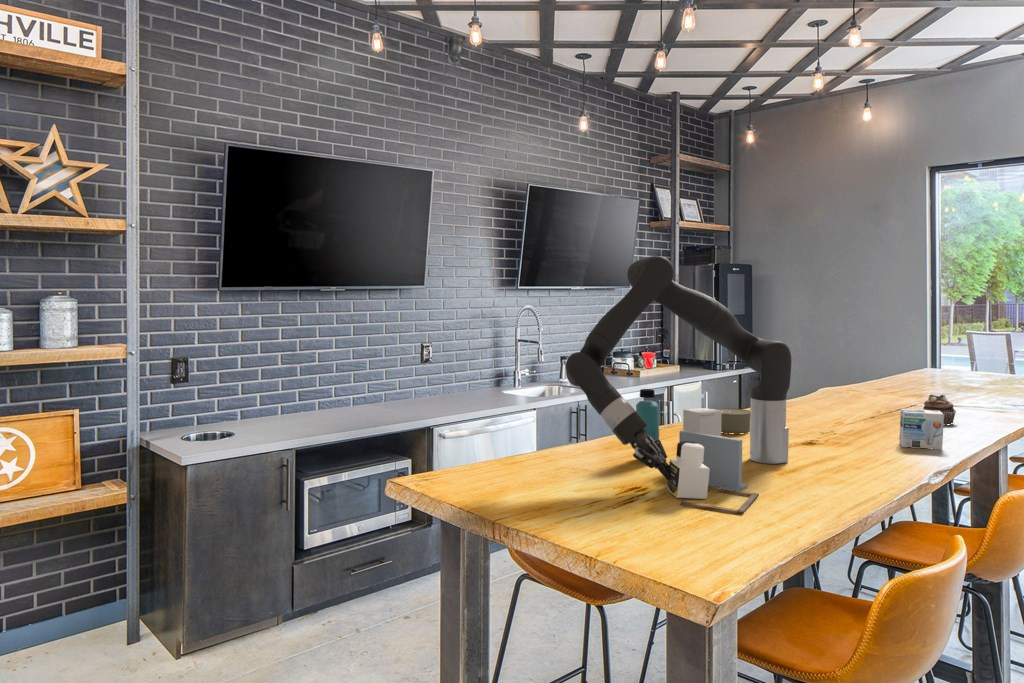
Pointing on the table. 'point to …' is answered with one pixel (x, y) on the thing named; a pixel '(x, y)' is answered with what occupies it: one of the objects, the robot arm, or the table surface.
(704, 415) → the skincare box
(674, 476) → the medicine bottle
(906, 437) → the light bulb box
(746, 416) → the can
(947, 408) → the cupcake
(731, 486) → the screen
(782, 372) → the robot arm
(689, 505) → the bay
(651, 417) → the beverage bottle
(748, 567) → the table surface
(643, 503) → the table surface
